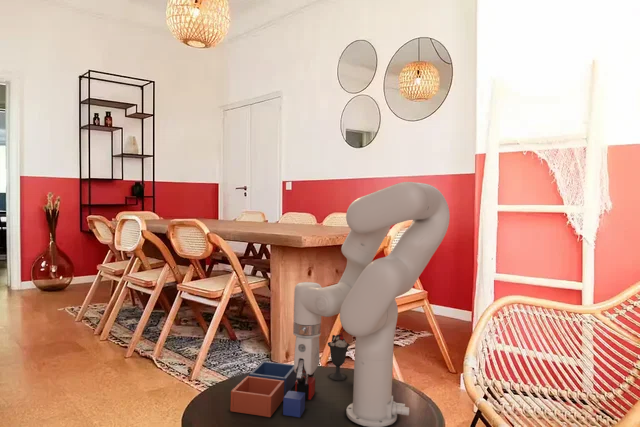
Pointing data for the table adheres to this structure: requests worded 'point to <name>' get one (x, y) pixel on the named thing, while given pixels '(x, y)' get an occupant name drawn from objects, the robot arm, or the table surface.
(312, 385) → the red block
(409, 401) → the table surface
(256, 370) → the blue bin
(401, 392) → the table surface
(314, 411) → the table surface
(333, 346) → the sundae
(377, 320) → the robot arm
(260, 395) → the terracotta bin
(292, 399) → the blue block
